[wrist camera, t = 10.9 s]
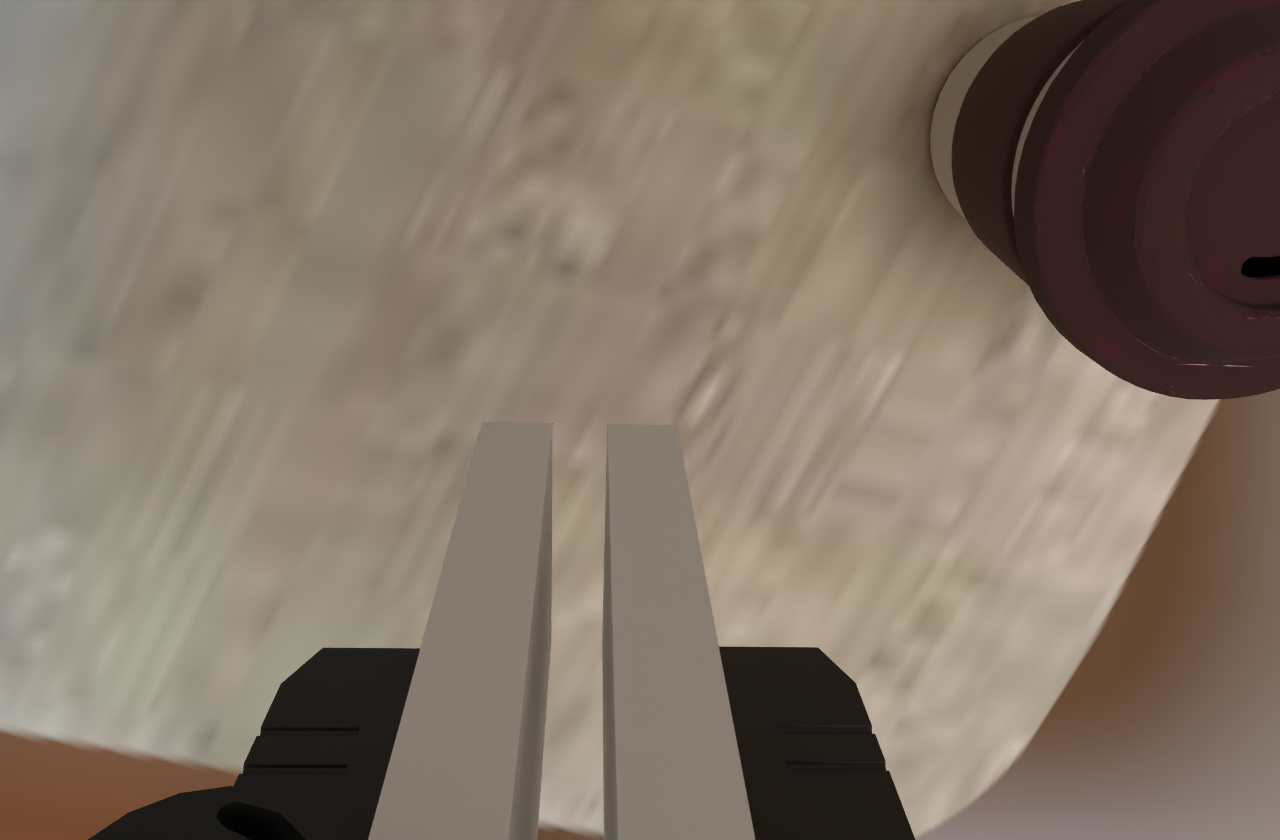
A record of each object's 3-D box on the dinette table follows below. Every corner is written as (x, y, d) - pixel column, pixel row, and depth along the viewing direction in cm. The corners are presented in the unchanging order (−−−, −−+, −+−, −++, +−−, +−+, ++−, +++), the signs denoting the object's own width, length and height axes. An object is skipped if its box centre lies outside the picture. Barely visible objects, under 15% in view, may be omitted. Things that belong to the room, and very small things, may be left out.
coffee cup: (975, -83, 34) (1235, -142, 20) (1236, 44, 36) (1642, 70, 22) (836, 209, 38) (979, 330, 24) (1083, 314, 39) (1352, 486, 25)
